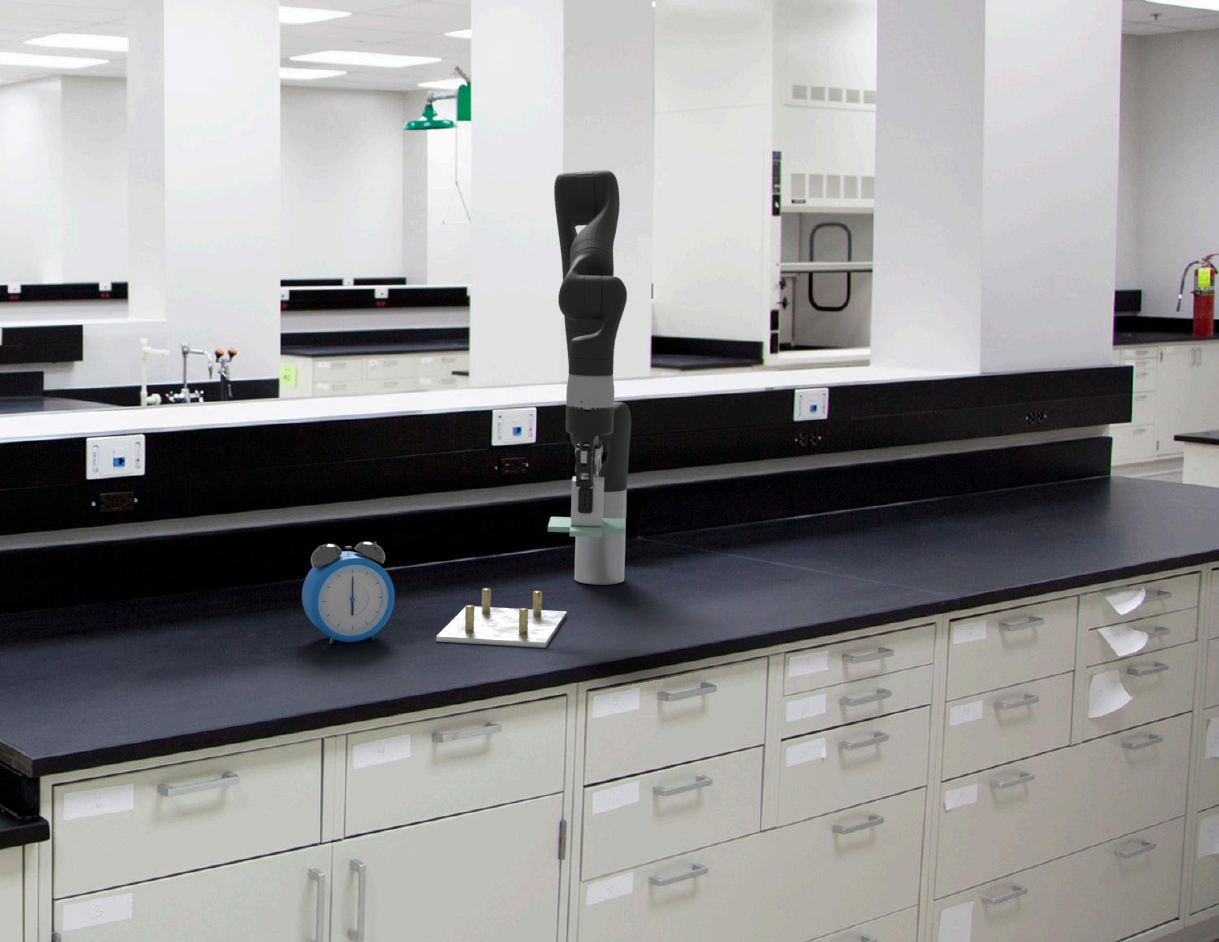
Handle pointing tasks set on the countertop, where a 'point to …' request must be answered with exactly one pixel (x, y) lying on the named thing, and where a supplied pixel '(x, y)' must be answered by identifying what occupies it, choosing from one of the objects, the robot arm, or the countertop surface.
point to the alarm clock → (348, 592)
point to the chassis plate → (503, 624)
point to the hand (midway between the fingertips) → (587, 509)
